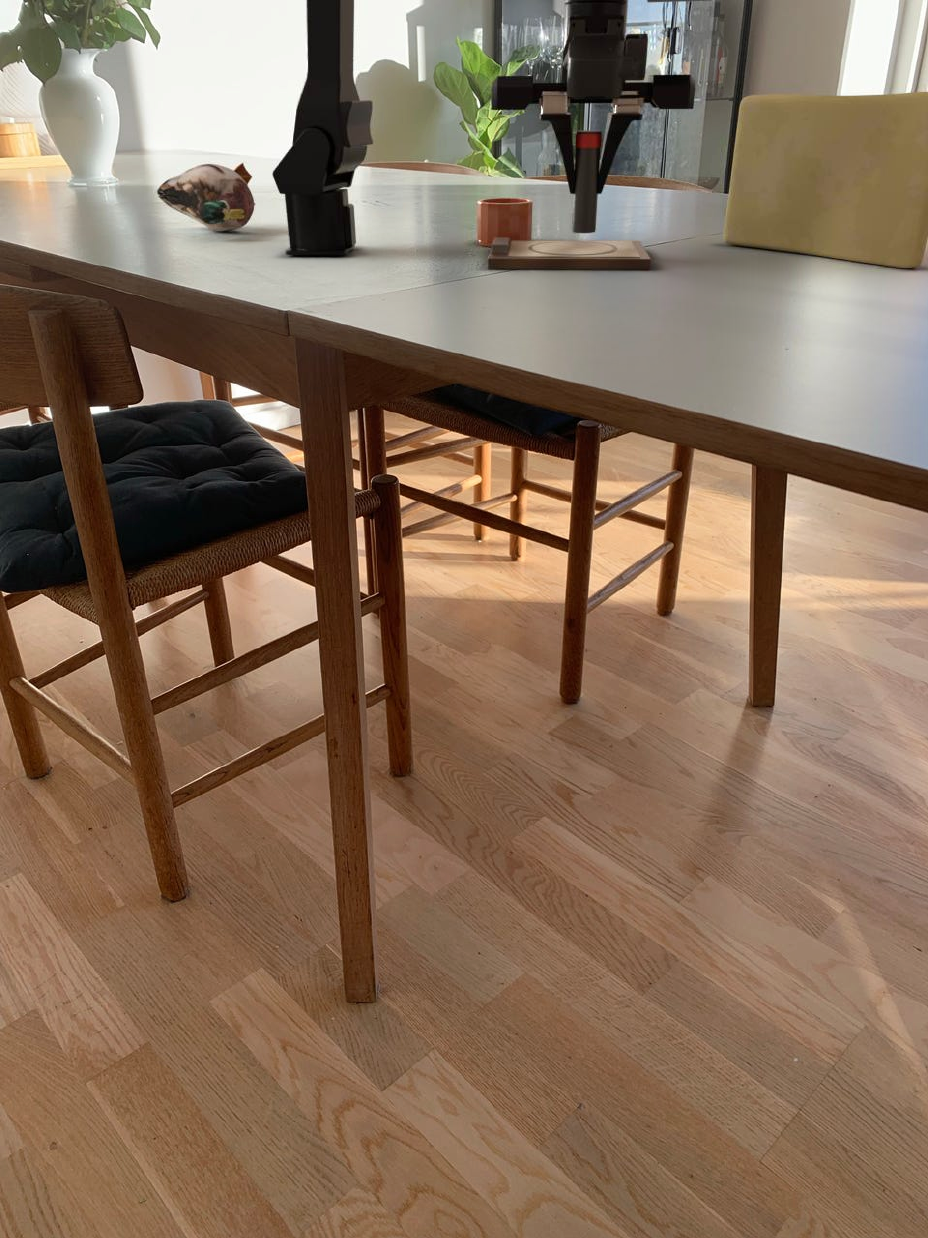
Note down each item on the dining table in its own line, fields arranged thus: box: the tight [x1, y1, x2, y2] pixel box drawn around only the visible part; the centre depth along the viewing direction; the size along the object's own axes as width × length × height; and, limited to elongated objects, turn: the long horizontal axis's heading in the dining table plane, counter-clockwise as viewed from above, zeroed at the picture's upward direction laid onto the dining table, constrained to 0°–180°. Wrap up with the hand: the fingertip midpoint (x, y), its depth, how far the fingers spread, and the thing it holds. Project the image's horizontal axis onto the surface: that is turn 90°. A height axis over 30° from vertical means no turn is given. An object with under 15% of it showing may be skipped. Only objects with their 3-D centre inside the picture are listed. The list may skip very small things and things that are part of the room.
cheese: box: [722, 91, 928, 269], centre depth 93 cm, size 22×10×15 cm, turn 31°
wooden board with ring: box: [487, 237, 652, 271], centre depth 95 cm, size 16×12×2 cm
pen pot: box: [476, 197, 534, 248], centre depth 104 cm, size 6×6×4 cm
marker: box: [571, 129, 603, 234], centre depth 90 cm, size 2×2×9 cm
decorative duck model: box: [156, 162, 256, 232], centre depth 113 cm, size 15×8×15 cm
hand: (585, 193), depth 91 cm, fingers closed on marker, 2 cm apart
